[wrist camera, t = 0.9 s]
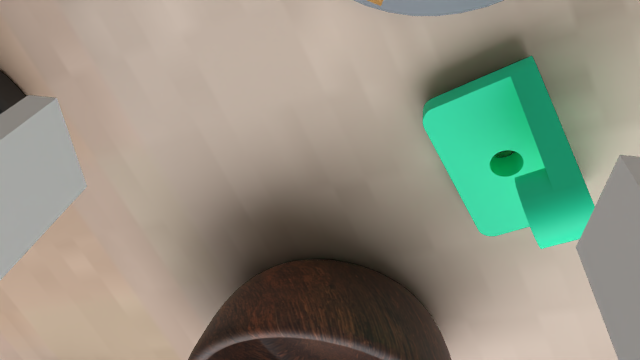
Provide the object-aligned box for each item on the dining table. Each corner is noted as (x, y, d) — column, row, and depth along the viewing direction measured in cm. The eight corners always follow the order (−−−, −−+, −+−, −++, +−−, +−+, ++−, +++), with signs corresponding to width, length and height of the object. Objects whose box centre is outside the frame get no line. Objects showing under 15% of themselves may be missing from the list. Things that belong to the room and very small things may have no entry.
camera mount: (417, 97, 34) (415, 183, 26) (529, 49, 30) (566, 129, 22) (480, 217, 39) (494, 320, 31) (581, 187, 36) (626, 293, 27)
